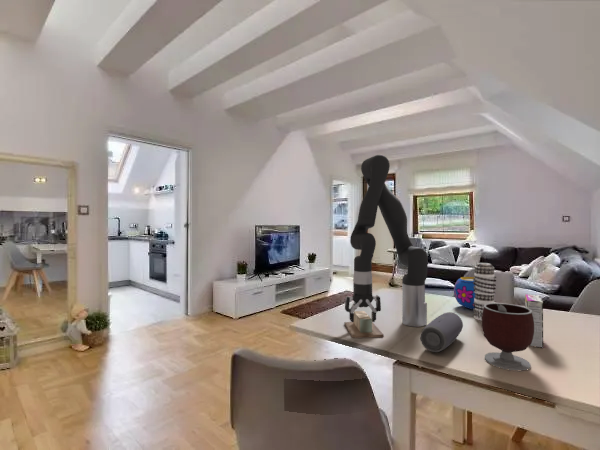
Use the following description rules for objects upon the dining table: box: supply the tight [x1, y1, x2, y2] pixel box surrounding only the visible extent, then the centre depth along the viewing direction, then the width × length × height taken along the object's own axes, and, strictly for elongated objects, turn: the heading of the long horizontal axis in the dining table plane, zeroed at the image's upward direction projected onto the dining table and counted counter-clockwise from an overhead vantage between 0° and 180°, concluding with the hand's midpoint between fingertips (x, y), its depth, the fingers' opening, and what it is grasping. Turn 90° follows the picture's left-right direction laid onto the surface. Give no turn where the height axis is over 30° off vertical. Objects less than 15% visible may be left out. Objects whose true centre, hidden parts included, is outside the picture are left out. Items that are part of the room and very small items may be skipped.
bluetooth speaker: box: [419, 311, 464, 353], centre depth 117 cm, size 23×9×10 cm, turn 141°
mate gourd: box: [481, 302, 534, 371], centre depth 102 cm, size 16×14×20 cm
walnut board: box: [343, 321, 384, 339], centre depth 133 cm, size 12×16×1 cm
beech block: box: [353, 310, 372, 333], centre depth 134 cm, size 4×5×12 cm
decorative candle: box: [473, 262, 497, 321], centre depth 149 cm, size 9×9×25 cm
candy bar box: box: [524, 293, 544, 349], centre depth 120 cm, size 11×5×16 cm, turn 148°
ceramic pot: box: [453, 276, 475, 310], centre depth 166 cm, size 18×18×15 cm
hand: (362, 321), depth 133 cm, fingers open, 8 cm apart
